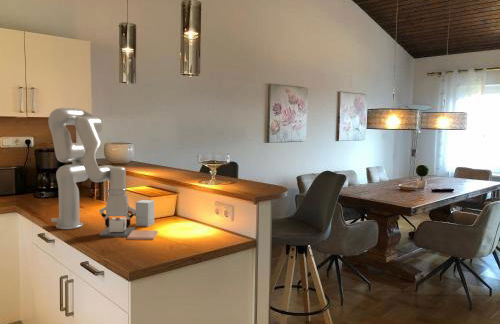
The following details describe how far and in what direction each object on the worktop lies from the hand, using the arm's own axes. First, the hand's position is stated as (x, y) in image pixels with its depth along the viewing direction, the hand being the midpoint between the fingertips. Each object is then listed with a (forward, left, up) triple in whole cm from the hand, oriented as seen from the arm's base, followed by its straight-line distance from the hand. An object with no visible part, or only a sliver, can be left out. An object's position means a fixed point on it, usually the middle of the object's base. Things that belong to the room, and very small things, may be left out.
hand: (117, 226), depth 203 cm
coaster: (+13, -5, -3) cm, 14 cm away
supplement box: (+10, +17, -3) cm, 20 cm away
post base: (0, 0, -3) cm, 3 cm away
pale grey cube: (0, 0, -2) cm, 2 cm away
